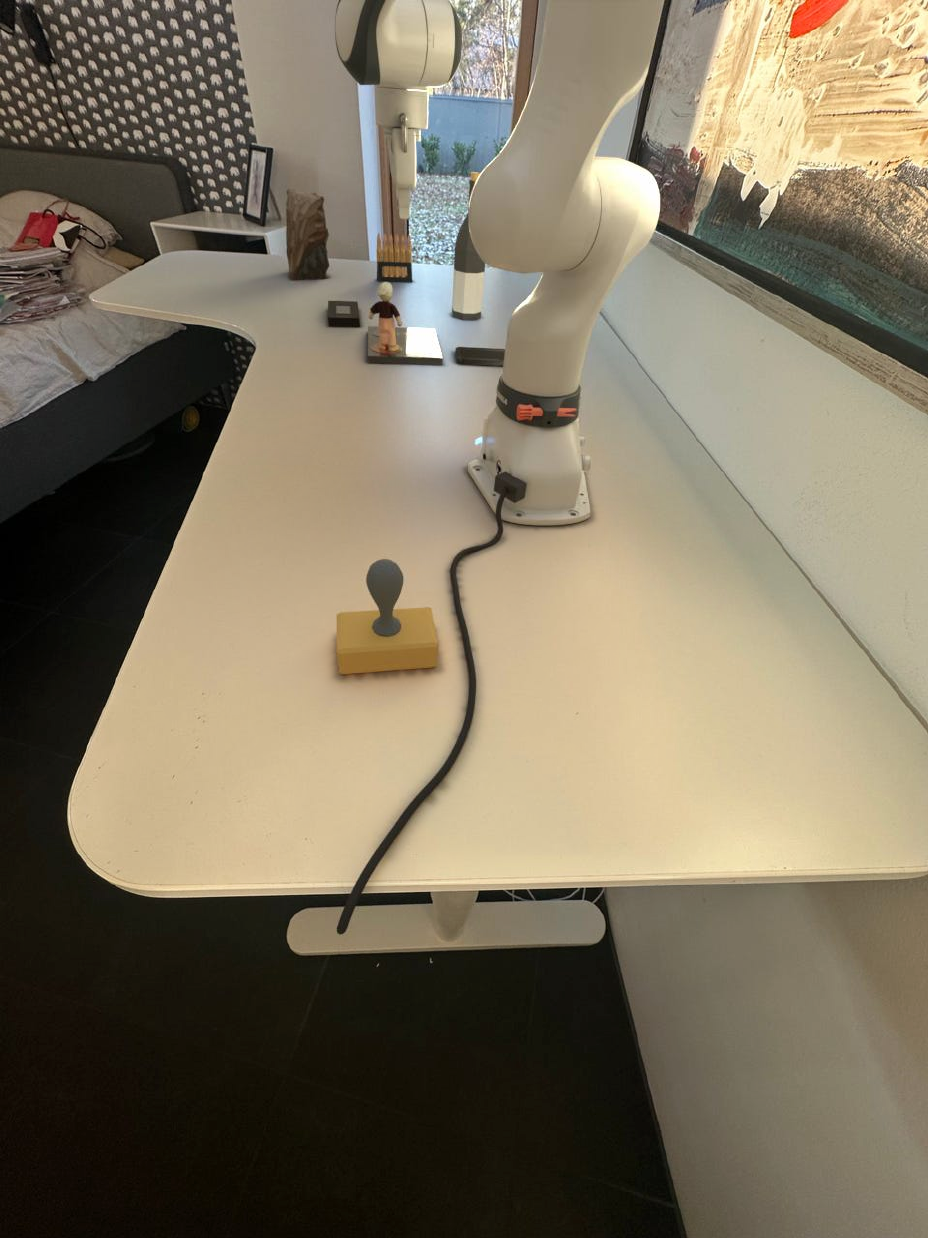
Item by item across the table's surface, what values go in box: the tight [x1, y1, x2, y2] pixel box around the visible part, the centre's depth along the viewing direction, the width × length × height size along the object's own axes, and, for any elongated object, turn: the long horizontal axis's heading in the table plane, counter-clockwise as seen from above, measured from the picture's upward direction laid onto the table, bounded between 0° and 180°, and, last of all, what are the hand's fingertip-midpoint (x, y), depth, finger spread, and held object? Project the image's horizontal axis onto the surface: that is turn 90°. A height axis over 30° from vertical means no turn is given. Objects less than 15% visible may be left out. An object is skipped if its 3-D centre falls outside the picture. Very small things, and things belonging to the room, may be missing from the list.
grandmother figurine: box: [368, 281, 403, 351], centre depth 116 cm, size 8×4×13 cm, turn 81°
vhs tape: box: [327, 300, 361, 328], centre depth 137 cm, size 8×14×2 cm, turn 10°
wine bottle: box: [451, 171, 486, 321], centre depth 136 cm, size 8×8×30 cm
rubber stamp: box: [336, 558, 439, 675], centre depth 54 cm, size 10×6×12 cm, turn 99°
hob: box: [367, 325, 444, 366], centre depth 125 cm, size 20×16×2 cm
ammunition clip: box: [376, 232, 413, 283], centre depth 164 cm, size 11×2×12 cm, turn 102°
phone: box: [454, 346, 505, 367], centre depth 123 cm, size 8×1×15 cm
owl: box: [285, 188, 330, 281], centre depth 159 cm, size 13×13×20 cm
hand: (403, 214), depth 102 cm, fingers open, 8 cm apart
